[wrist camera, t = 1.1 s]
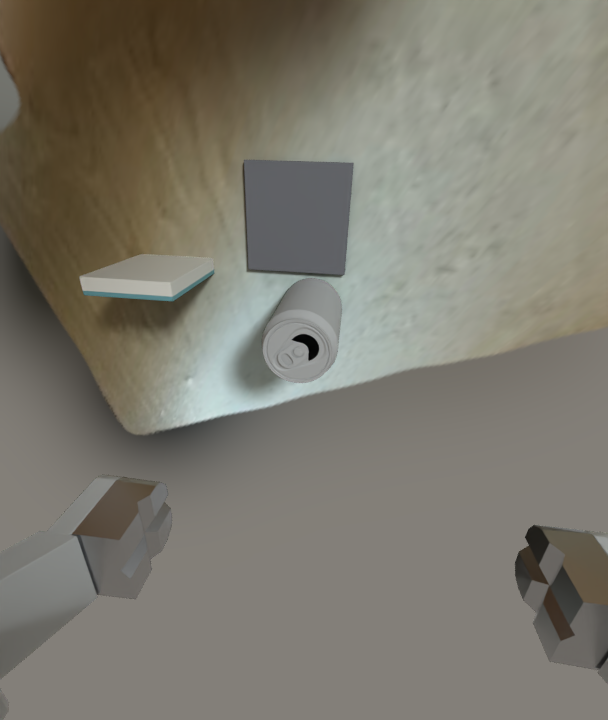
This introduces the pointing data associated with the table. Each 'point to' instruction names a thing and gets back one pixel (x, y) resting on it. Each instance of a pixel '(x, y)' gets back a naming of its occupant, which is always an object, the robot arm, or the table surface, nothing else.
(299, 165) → the mat
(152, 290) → the tile
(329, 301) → the beverage can
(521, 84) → the table surface
